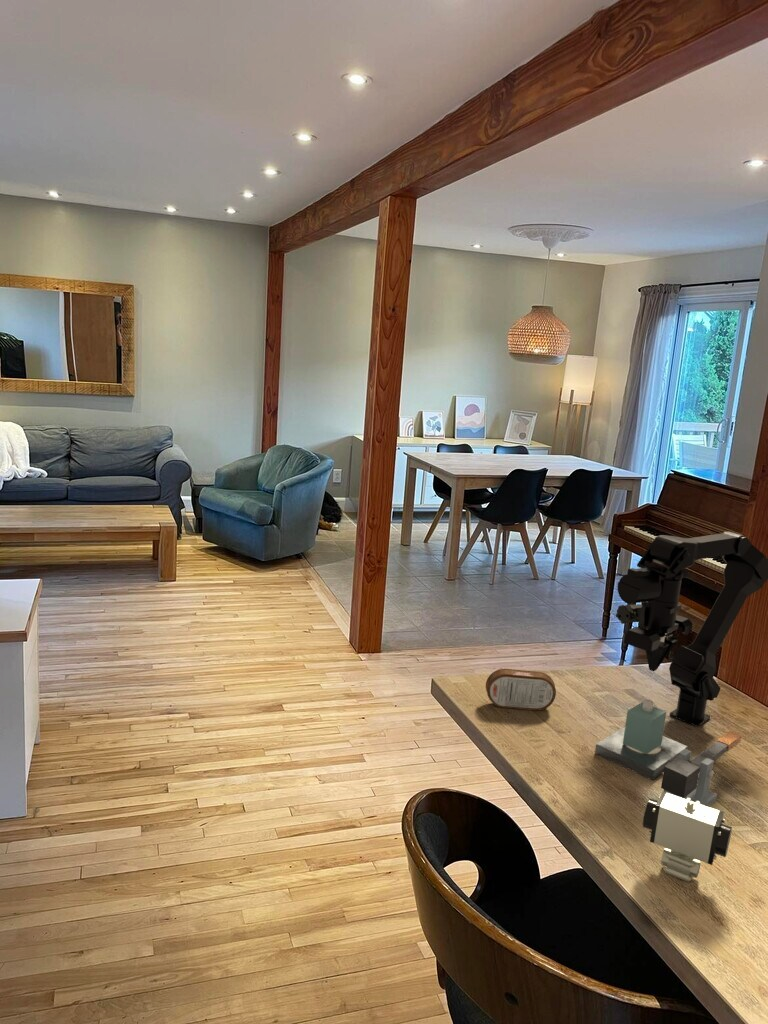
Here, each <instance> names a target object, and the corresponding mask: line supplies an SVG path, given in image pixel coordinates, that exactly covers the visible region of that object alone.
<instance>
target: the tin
mask: <svg viewBox="0 0 768 1024" xmlns="http://www.w3.org/2000/svg"><path fill="white" fill-rule="evenodd" d="M556 689H557V688H556V685H555V682H554V680H553V678H552V677H551V676H550V675H548V674H547V673H545V672H542V671H536V670H525V669H524V670H523V669H514V668H513V669H512V668H500V669H497V670H495V671H493V672H492V673H491V674H490V675H489V676H488V677H487V679H486V683H485V690H486V691H485V692H486V694H487V697H488V699H489V701H490V702H491V703H492V704H493V705H494V706H497V707H499V708H503V709H513V708H514V710H515V709H516V710H527V711H543V710H546V709H547V708H549V707H550V706H551V705H552V704H554V701H555V699H556V696H557V695H556V694H557V691H556Z"/></svg>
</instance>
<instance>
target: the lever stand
mask: <svg viewBox="0 0 768 1024" xmlns="http://www.w3.org/2000/svg"><path fill="white" fill-rule="evenodd" d="M678 757H679V758H681V759H683V760H686V761H688V762H689V761H691V757H692V750H689V749H688V748H687V749H683V750H682V751H681V752H679V755H678ZM714 762H715V761H714V760H711V759H709V758H706V759H705V760H703V761H702V762H701V766H700V771H699V776H698V782H697V788H696V789H695V790H694V791H692V792H691V793H690V794H689V795H687V796H686V797H685V798H684V799H687V798H690V799H691V801H693V802H696V801H699V802H700V803H701V805H704V806H707V807H710V806H711V805H712V804H714V803H715V802H716V800H717V796H718V794H717V793H716V792H712V791H711V790H710V784H711V778H713V775H714V770H713V767H714ZM662 791H663V792H666V793H669V794H672V793H670V792H668V791H666V790H664V789H663V790H662ZM672 795H675V794H672ZM675 796H677V795H675ZM678 797H679V796H678Z"/></svg>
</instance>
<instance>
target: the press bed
mask: <svg viewBox="0 0 768 1024" xmlns="http://www.w3.org/2000/svg"><path fill="white" fill-rule="evenodd" d="M624 732H625V726H624V727H622V728H620V729H619V730H617V731H615V732H613V733H611V734H609V735H608V736H607V737H605V738H603V739H602V740H600V741H598V742H596V743H595V751H594V753H595V754H596V755H598V756H600V757H602V758H605V759H606V760H609V761H611V762H613V763H615V764H617V765H618V766H619V765H620V766H621V767H624V768H625V769H627V770H630V771H632V772H634V773H636V774H638V775H641V776H643V777H645V778H647V779H649V780H651V781H653V780H654V779H657V778H658V777H659V776H661V774H662V775H663V772H664V766H666V765H667V764H668V763H670V762H671V761H673V760H674V759H676V758H677V757H678V755H679V752H681V751H682V750H683V749H688V748H689V747H688V745H685V744H683V743H681V742H679V741H676V740H675V739H674V740H673V739H672V738H669V737H666V736H664V735H663V737H662V743H661V745H660V746H658V747H657V748H655V749H654V750H652V751H651V752H650V753H648V754H645V753H642V752H640V751H638V750H636V749H633V748H631V747H629V746H627V745H624V744H623V739H624Z"/></svg>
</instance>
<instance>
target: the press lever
mask: <svg viewBox="0 0 768 1024" xmlns="http://www.w3.org/2000/svg"><path fill="white" fill-rule="evenodd" d="M741 741H742V734H740V733H737V732H735V731H732V730H729V731H727V732H726V733H725V734H724V735H722V736H720V737H719V738H718V739H717V740H716V741H715V742H714V743H712V744H711V745H710V746H708V747H707V748H706V749H704V750H703V751H702V752H700V753H699V754H698V755H696V756H695V757H694V758H692V759H690V761H689V762H688V761H686V760H683V759H681V758H679V757H677V758H676V759H674V760H673V761H671V762H670V763H668V764H667V765H666V766H664V772H663V773H662V777H661V778H662V780H661V786H660V788H661V789H663V791H664V790H666V791H668V792H670V793H672V794H675V795H677V796H679V797H681V798H685V797H686V796H687V795H689V794H690V793H691V792H692V791H694V790H695V789H696V788H697V783H698V777H699V771H700V766H701V762H702V761H703V760H705V759H706V758H709V759H711V760H714V762H715V761H716V760H718V759H719V758H720V757H721V756H723V755H724V754H726V752H729V751H731V750H732V749H733V748H735V747H736V746H737V745H738V744H739V743H741Z"/></svg>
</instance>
